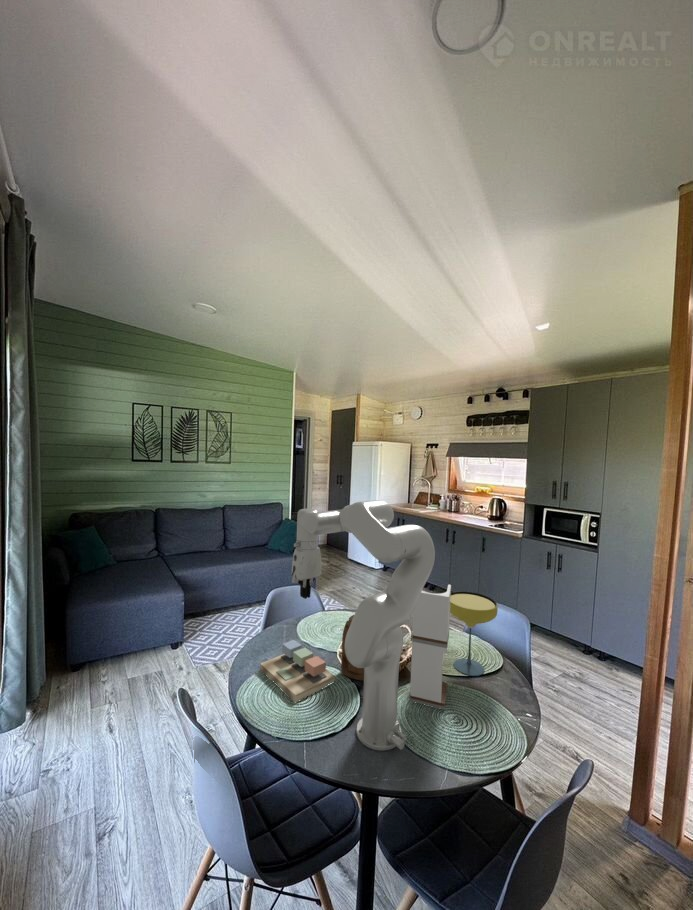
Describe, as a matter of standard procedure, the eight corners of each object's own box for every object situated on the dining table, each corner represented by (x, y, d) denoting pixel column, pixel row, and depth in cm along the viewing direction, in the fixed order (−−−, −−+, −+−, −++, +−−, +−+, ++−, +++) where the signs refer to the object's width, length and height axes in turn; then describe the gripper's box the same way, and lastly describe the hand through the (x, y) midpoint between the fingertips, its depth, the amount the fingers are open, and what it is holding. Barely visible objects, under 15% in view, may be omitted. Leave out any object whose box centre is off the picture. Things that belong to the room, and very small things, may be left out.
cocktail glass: (491, 658, 144) (494, 594, 144) (498, 686, 127) (501, 613, 127) (443, 651, 149) (445, 588, 149) (444, 677, 131) (446, 606, 131)
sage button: (312, 661, 130) (313, 653, 130) (301, 666, 126) (301, 658, 126) (304, 655, 134) (304, 647, 133) (292, 660, 130) (293, 651, 130)
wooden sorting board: (334, 683, 126) (335, 674, 125) (295, 703, 115) (295, 693, 115) (297, 655, 142) (297, 647, 142) (259, 670, 131) (260, 662, 131)
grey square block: (301, 653, 135) (301, 645, 135) (289, 658, 132) (290, 649, 132) (293, 647, 139) (293, 639, 139) (282, 652, 135) (282, 643, 135)
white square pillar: (444, 710, 114) (448, 596, 114) (409, 701, 117) (414, 591, 117) (446, 688, 125) (450, 584, 125) (415, 681, 128) (419, 580, 128)
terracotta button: (325, 671, 125) (325, 662, 125) (313, 676, 121) (313, 667, 121) (316, 664, 128) (316, 655, 128) (304, 669, 125) (304, 660, 125)
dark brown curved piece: (373, 672, 133) (375, 616, 133) (368, 684, 126) (370, 625, 126) (344, 665, 136) (346, 611, 136) (338, 677, 129) (340, 619, 129)
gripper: (295, 550, 122) (293, 605, 122) (330, 543, 132) (328, 595, 132) (282, 545, 127) (280, 598, 128) (317, 539, 138) (316, 589, 138)
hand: (305, 596), depth 130 cm, fingers closed
